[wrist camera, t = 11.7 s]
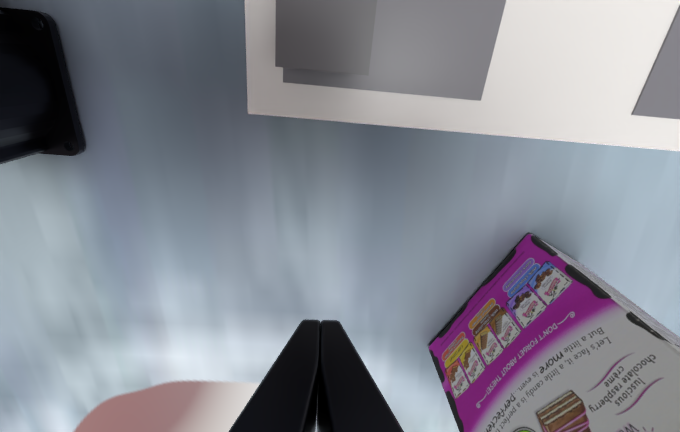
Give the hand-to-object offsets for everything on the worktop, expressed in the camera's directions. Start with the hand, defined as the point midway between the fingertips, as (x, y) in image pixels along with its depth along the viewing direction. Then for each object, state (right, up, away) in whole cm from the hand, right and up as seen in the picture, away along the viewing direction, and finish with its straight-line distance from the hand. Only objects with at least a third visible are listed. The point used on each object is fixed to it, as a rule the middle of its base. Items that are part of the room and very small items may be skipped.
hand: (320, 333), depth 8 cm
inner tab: (0, +10, +5) cm, 11 cm away
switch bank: (+10, +11, +9) cm, 17 cm away
